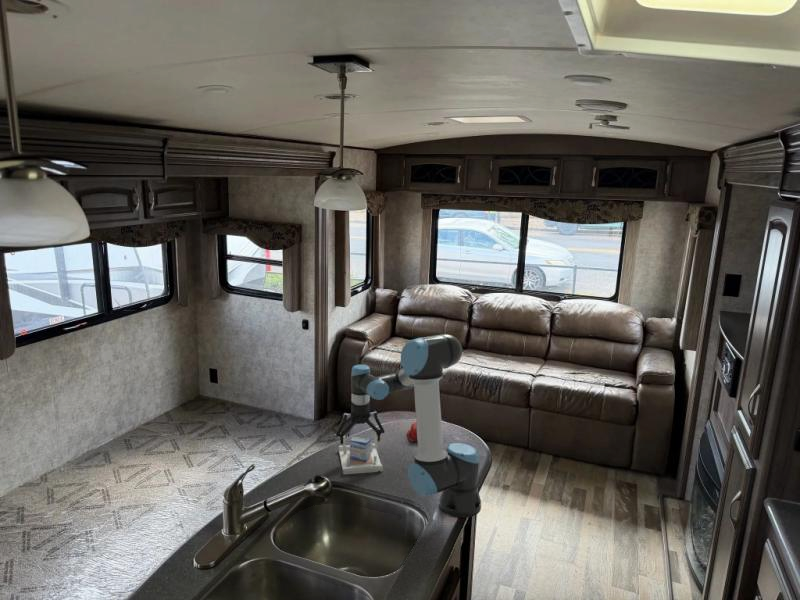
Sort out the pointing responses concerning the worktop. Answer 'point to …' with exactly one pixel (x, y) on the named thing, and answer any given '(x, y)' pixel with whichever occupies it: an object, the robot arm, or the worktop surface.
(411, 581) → the worktop surface
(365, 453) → the medicine box
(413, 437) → the butter dish
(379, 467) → the pin tray
